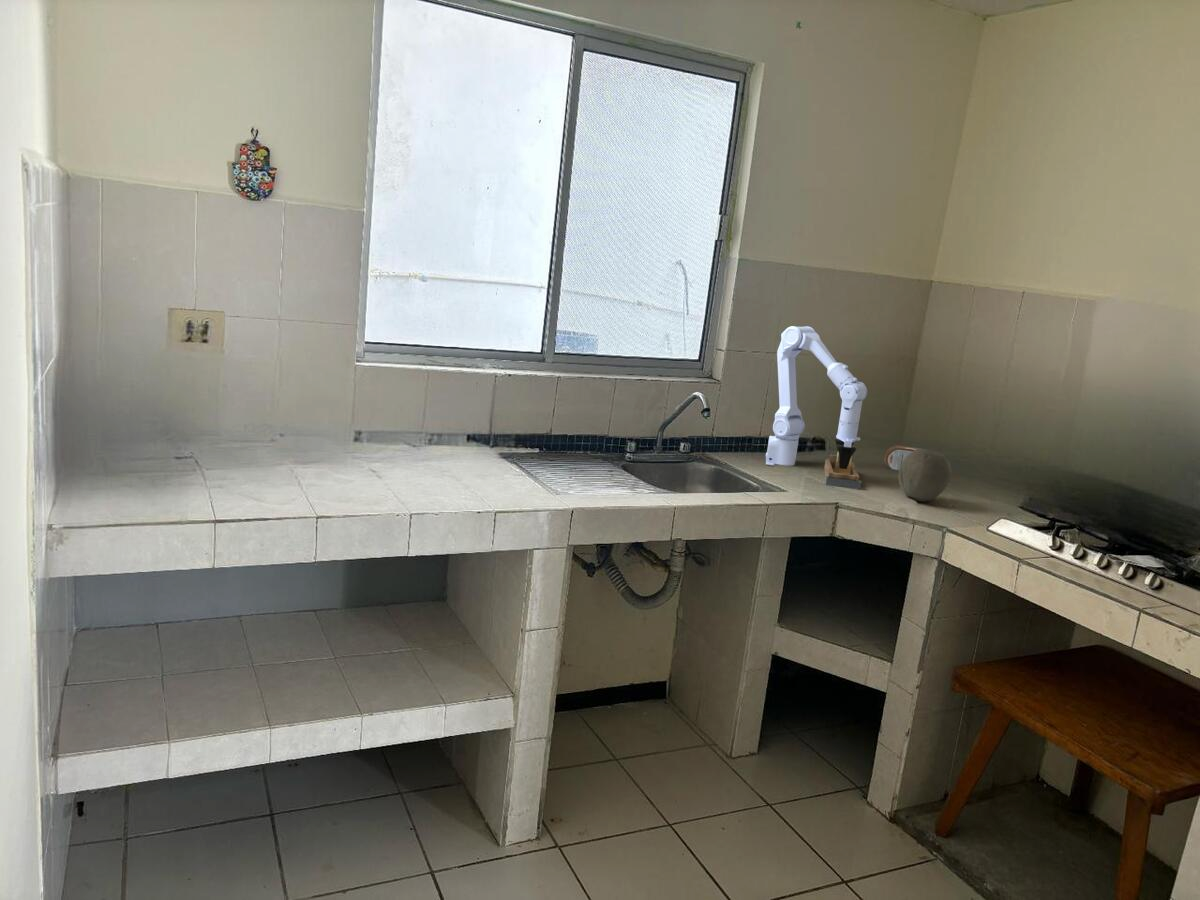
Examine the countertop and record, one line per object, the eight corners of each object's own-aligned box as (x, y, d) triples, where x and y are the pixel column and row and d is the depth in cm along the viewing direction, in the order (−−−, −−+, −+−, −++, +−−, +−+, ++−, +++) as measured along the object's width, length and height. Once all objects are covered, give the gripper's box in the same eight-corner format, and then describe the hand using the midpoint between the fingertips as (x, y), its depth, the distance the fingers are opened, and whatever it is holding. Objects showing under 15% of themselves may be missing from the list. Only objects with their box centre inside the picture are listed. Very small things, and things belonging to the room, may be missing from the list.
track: (823, 487, 274) (825, 477, 273) (819, 466, 302) (820, 457, 301) (862, 492, 272) (863, 483, 272) (853, 470, 300) (855, 461, 299)
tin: (928, 474, 307) (932, 449, 305) (930, 476, 304) (935, 451, 302) (881, 468, 308) (886, 443, 306) (883, 470, 305) (887, 445, 303)
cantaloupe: (939, 510, 261) (949, 458, 258) (889, 499, 268) (897, 448, 265) (950, 501, 273) (959, 451, 270) (901, 490, 280) (910, 441, 277)
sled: (827, 483, 276) (830, 467, 275) (824, 468, 296) (826, 454, 295) (857, 487, 275) (859, 471, 274) (851, 472, 294) (854, 457, 293)
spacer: (835, 475, 283) (838, 453, 282) (834, 473, 287) (837, 450, 286) (848, 477, 283) (852, 455, 281) (847, 474, 287) (851, 452, 285)
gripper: (864, 428, 274) (857, 472, 277) (860, 419, 288) (853, 462, 291) (840, 425, 275) (833, 469, 278) (837, 416, 289) (830, 459, 292)
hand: (842, 465), depth 284 cm, fingers open, 7 cm apart
